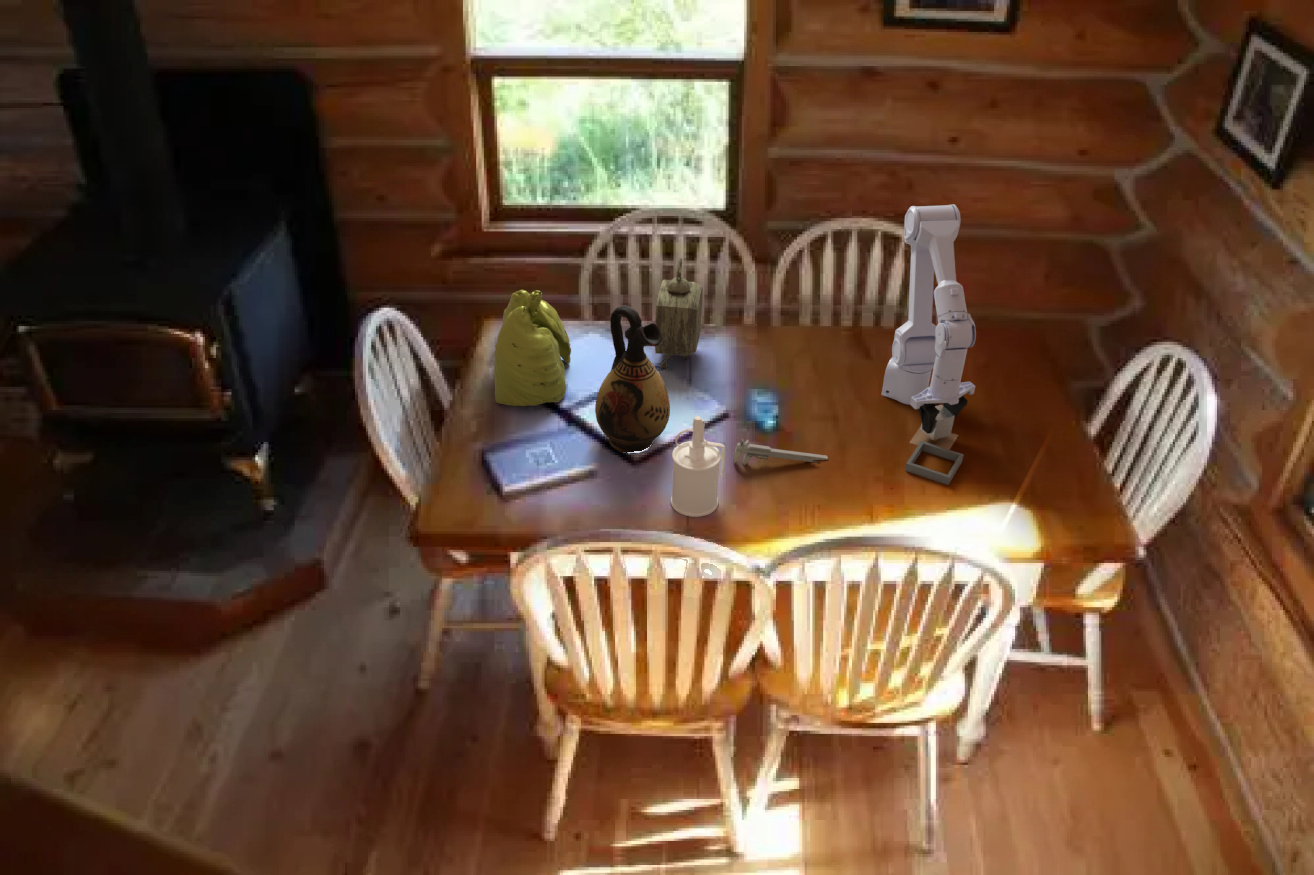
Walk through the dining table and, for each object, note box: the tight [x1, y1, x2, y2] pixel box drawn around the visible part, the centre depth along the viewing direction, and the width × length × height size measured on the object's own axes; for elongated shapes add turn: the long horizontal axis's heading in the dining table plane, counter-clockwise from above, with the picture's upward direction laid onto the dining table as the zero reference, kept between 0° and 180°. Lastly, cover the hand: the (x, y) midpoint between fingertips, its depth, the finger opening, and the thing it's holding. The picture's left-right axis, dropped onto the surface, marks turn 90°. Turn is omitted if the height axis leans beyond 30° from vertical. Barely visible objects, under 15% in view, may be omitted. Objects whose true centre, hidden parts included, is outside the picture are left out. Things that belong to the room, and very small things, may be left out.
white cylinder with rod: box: [670, 415, 727, 518], centre depth 210 cm, size 10×9×20 cm
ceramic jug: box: [594, 304, 671, 454], centre depth 223 cm, size 17×15×30 cm
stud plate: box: [909, 425, 959, 450], centre depth 232 cm, size 8×8×3 cm
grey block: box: [920, 404, 955, 440], centre depth 230 cm, size 4×4×5 cm
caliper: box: [733, 438, 829, 466], centre depth 224 cm, size 20×1×6 cm, turn 94°
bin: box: [904, 441, 965, 486], centre depth 224 cm, size 9×9×3 cm
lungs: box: [493, 289, 572, 407], centre depth 241 cm, size 25×16×24 cm, turn 177°
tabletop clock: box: [654, 257, 704, 370], centre depth 251 cm, size 14×9×25 cm, turn 172°
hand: (936, 428), depth 230 cm, fingers closed on grey block, 4 cm apart
